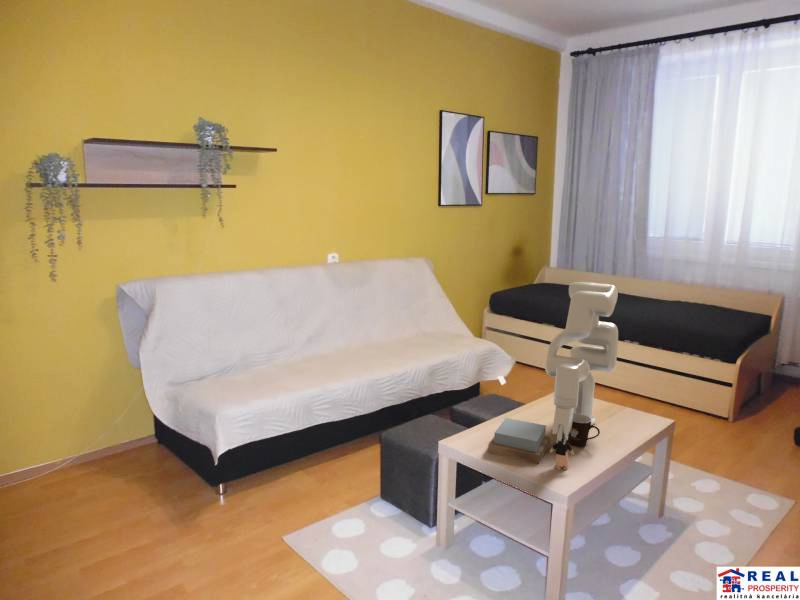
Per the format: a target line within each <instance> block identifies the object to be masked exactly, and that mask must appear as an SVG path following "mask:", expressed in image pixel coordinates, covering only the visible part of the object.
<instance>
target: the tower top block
mask: <svg viewBox="0 0 800 600" xmlns="http://www.w3.org/2000/svg"><path fill="white" fill-rule="evenodd" d="M546 428H547V425H545V424H542V423H541V424H540V423H535V422H530V421H526V420H525V421H524V420H519V419H515V418H509V417H505V418H504V420H503V421H502V422H501V423H500V425H499V426H498V428H497V429H496V430H495V431H494V436H493V438H494V443H496V444H500V445H505V446H510V447H514V448H519V449H524V450H528V451H533V452H537V450H538V448H539V446H540V445H541V443H542V441H543V439H544V437H545V434H546V430H547V429H546Z"/></svg>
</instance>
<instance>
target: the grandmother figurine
mask: <svg viewBox="0 0 800 600" xmlns="http://www.w3.org/2000/svg"><path fill="white" fill-rule="evenodd" d="M563 435H565V434H563ZM562 438H563V439H564V437H562ZM567 440H568V436H567V437H566V441H567ZM567 449H568V450H567ZM554 451H556V442H554V444H553V445H552V446H551V448H550V450H549V452H550V453H553V452H554ZM568 451H569V452H568ZM568 453H570V455H571V456H573V455H575V453H574V450H573V446H571V445H570V444H568V443H566V455H565V456H563V455H558V454H556V453H555V455H556V456H555V464H554V467H555V469H557V470H562V469H563V470H564V471H565V470H566V471H567V470H568V469H569V465H568V464H569V455H568Z"/></svg>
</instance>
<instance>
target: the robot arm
mask: <svg viewBox="0 0 800 600" xmlns="http://www.w3.org/2000/svg"><path fill="white" fill-rule="evenodd" d="M618 294H619V293H618V288H617V286H615V285H614V284H608V283H598V282H589V281H586V282H585V281H574V282H571V283H570V284H569V286H568V296H569V298H570V303H569V308H568V313H567V319H566V325H565V328H564V329H563V330H562V331H560V332H559V333H558V334H556V336H555V337H554V338H553V339H552V341H551V342H550V344H549V345H548V349H547V354H546V359H545V365H544V366H545V372H546V374H547V375H548V376H550V377H552V378H553V377H554V378H555V379H554V393H553V394H554V396H553V405H554V406H555V409H554V410H555V411H554V417H553V422H552V423H553V425H552V433H551V434H552V435H553V436H555V435H556V434H557V435H556V442H555V443H556V449H555V451H554V452H555V455H556V454H558V455H563V456H565V455H566V443H568V440H567V441H566V437H567V436H568V435H569V432H570V430H571V428H572V421H573V414H582V415H586V416H588V417H590V418H591V420H592V421H591V425H590V426H594V424H596V417H594V416H593V410H594V409H593V407H594V396H595V386H596V380H595V376H594V375H593V373H592V372H591V371H596V372H602V373H603V372H604V373H612V372H613V371H614V370H615V369H616V365H617V357H618V347H619V346H618V344H619V329H618V326H617V325H616V324H615V323H613V322H607V321H600V317H606V318H607V317H608V318H609V317H611V316H612V314H613V312H614V310H615V307H616V304H617V301H618V296H619V295H618ZM575 341H577V342H578V343H580V344H577V345H574V346H573V347H571V349H570V351H569V352H570V353H569V356H566V355H565V356H564V355H557V353H558V351H559V349H560V348H561V347H563V346H564V345H567V344H569V343H571V342H575ZM563 434H565V435H563ZM562 437H564V439H563V438H562ZM567 451H569V450H568V449H567Z"/></svg>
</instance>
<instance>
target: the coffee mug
mask: <svg viewBox="0 0 800 600" xmlns="http://www.w3.org/2000/svg"><path fill="white" fill-rule="evenodd" d="M591 421H592V420H591V418H590V417H588V416H586V415H582V414H573V421H572V428H571V430H570V432H569V435H568V444H569V445H570V446H571V447H574V448H585V447H586V446H587V444H588V443H587V442H588V441H590V440H592V439H595V438H597V437H599V435H600V434H601V431H600V429H599V427H597V426H596V425H591ZM590 425H591V426H590ZM593 428H594V429H595V430H597V434H596V435H595V436H594V435H593V436H592V437H591V436H590V437H589V433H590V430H591V429H593Z"/></svg>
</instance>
